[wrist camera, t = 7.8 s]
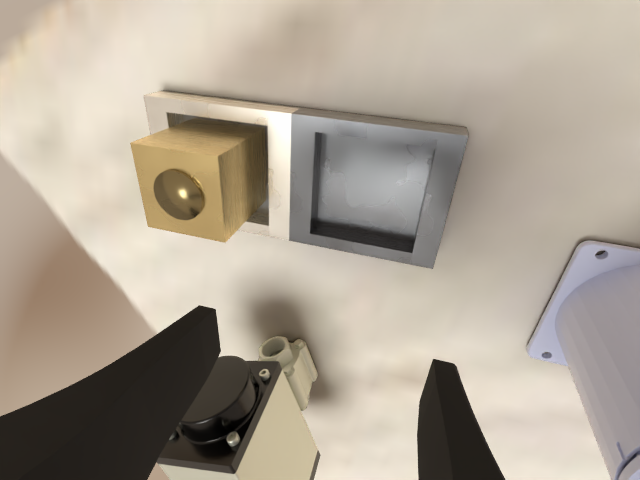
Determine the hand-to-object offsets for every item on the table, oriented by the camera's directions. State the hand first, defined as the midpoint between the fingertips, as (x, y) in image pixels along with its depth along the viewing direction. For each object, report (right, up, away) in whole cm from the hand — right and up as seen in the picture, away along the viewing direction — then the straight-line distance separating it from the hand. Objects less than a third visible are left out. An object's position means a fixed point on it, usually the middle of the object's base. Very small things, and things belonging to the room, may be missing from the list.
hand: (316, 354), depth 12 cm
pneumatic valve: (-2, -5, +17) cm, 17 cm away
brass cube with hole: (-5, +8, +9) cm, 13 cm away
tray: (-1, +8, +8) cm, 11 cm away
